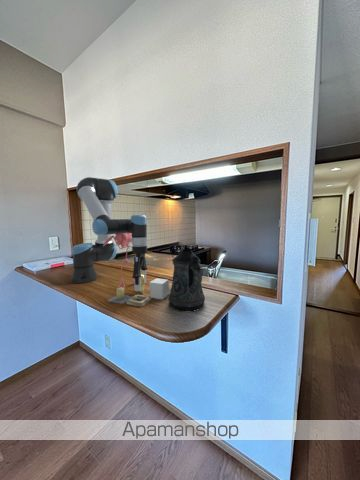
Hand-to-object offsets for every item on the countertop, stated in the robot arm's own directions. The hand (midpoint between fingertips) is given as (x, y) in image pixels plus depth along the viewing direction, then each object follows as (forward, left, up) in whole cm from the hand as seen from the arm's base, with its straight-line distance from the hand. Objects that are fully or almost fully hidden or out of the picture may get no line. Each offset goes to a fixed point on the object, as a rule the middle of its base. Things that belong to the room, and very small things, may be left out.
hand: (140, 286), depth 104 cm
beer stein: (+4, +28, -4) cm, 28 cm away
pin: (0, 0, -4) cm, 4 cm away
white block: (0, +11, -4) cm, 12 cm away
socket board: (+10, +5, -4) cm, 12 cm away
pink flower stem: (-8, -16, -4) cm, 19 cm away
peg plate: (+10, -5, -4) cm, 12 cm away
